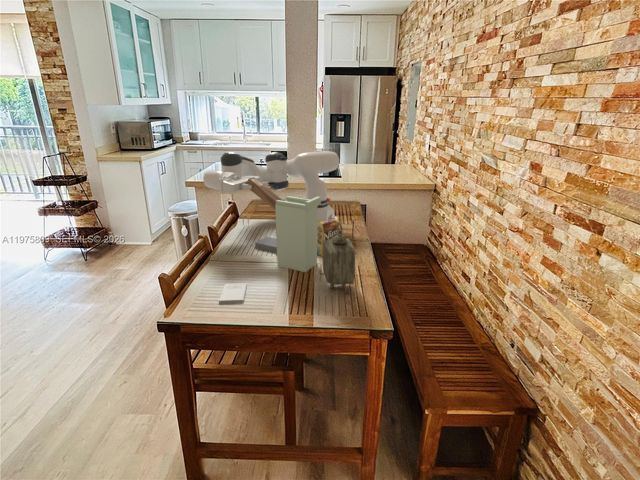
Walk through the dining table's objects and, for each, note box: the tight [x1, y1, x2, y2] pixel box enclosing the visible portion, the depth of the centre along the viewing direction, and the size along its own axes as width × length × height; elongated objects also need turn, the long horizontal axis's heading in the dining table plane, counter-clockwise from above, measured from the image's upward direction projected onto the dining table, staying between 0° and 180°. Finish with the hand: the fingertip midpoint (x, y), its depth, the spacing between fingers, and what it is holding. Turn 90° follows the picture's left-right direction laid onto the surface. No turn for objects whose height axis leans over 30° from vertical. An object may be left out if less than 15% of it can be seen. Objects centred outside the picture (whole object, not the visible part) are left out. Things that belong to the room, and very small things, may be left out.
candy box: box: [317, 218, 340, 257], centre depth 164 cm, size 9×4×15 cm, turn 123°
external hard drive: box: [218, 282, 248, 304], centre depth 132 cm, size 2×8×12 cm
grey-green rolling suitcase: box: [322, 221, 356, 295], centre depth 132 cm, size 14×9×25 cm, turn 8°
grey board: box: [254, 236, 277, 253], centre depth 169 cm, size 9×28×2 cm, turn 61°
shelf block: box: [274, 195, 321, 273], centre depth 149 cm, size 10×15×29 cm, turn 61°
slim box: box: [246, 177, 284, 211], centre depth 164 cm, size 4×22×4 cm, turn 61°
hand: (256, 185), depth 165 cm, fingers closed on slim box, 4 cm apart
